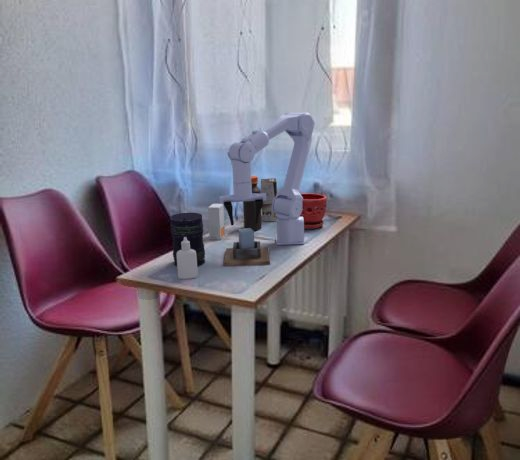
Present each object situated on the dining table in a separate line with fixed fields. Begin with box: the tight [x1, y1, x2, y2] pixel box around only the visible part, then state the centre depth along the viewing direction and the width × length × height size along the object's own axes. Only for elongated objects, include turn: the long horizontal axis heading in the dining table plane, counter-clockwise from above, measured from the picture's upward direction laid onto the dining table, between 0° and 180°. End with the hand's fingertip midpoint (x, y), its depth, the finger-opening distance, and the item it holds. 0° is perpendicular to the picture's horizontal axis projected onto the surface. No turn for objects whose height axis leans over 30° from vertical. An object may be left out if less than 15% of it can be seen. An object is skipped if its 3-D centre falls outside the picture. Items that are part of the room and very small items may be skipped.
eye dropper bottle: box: [176, 237, 199, 280], centre depth 136 cm, size 4×6×12 cm
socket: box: [223, 240, 271, 267], centre depth 152 cm, size 14×14×4 cm
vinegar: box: [242, 175, 263, 232], centre depth 181 cm, size 7×7×20 cm
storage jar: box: [169, 212, 206, 268], centre depth 147 cm, size 10×10×15 cm
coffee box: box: [260, 178, 278, 222], centre depth 195 cm, size 9×6×16 cm
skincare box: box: [207, 203, 225, 241], centre depth 172 cm, size 6×4×12 cm
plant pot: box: [299, 192, 328, 230], centre depth 183 cm, size 13×13×12 cm
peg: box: [237, 228, 255, 249], centre depth 151 cm, size 4×4×8 cm
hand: (244, 223), depth 152 cm, fingers open, 7 cm apart
